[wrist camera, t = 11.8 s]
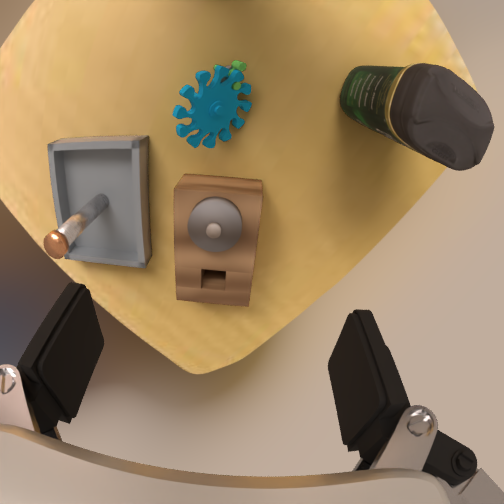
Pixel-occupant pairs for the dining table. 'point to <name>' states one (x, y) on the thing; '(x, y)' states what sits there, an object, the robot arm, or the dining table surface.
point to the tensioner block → (216, 238)
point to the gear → (214, 104)
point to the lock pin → (74, 226)
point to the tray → (114, 187)
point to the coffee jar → (421, 111)
